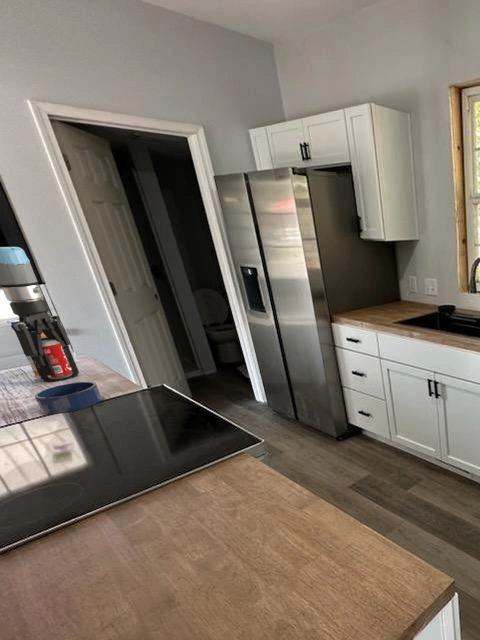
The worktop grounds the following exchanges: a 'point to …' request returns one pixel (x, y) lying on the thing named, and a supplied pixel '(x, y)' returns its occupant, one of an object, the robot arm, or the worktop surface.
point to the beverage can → (56, 359)
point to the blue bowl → (68, 397)
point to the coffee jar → (75, 373)
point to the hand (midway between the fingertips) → (58, 371)
